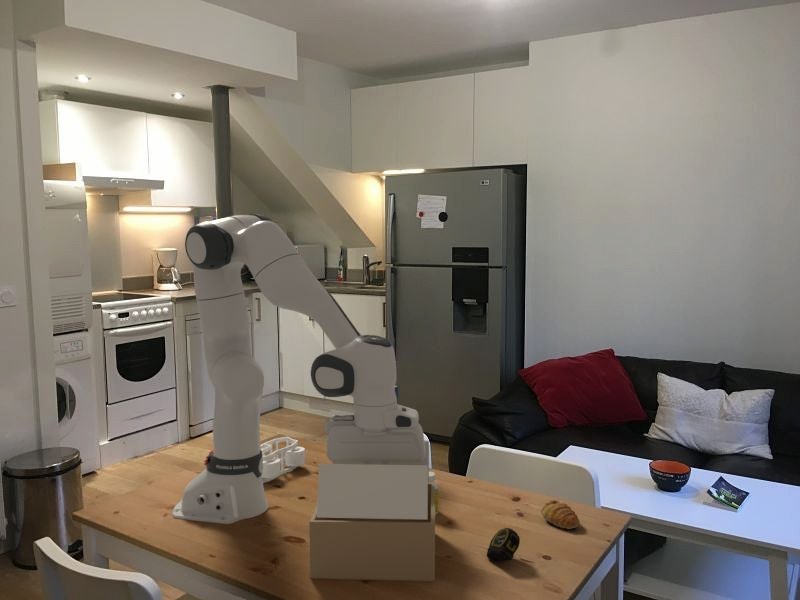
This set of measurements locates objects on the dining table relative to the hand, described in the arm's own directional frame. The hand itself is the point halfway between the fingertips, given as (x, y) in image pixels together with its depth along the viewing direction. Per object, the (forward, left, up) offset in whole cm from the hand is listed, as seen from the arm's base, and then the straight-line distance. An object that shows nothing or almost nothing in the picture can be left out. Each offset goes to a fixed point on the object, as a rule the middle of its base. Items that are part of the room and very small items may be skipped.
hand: (376, 480), depth 140 cm
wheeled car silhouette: (-33, +49, -17) cm, 62 cm away
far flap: (0, +10, -4) cm, 11 cm away
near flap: (0, -10, -4) cm, 11 cm away
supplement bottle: (+10, +23, -17) cm, 30 cm away
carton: (0, 0, -16) cm, 16 cm away
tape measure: (+26, -2, -17) cm, 31 cm away
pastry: (+40, +16, -17) cm, 46 cm away
